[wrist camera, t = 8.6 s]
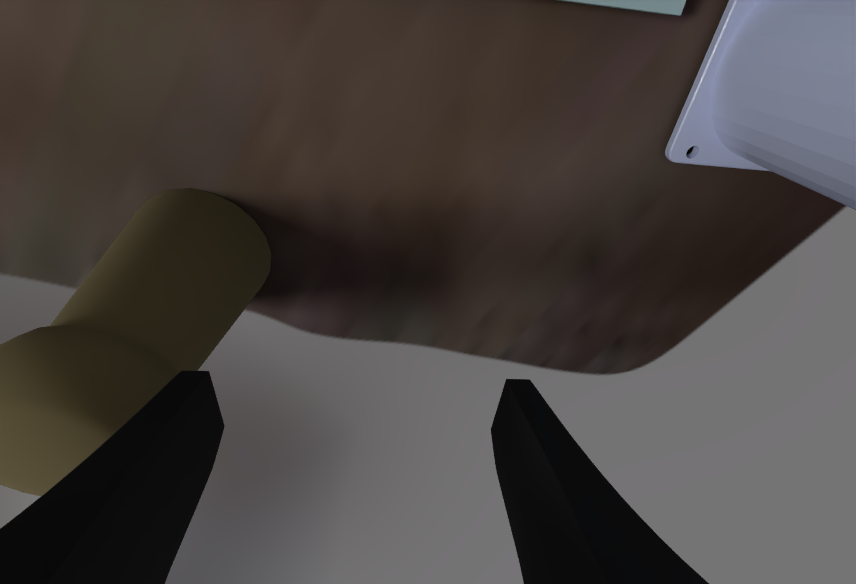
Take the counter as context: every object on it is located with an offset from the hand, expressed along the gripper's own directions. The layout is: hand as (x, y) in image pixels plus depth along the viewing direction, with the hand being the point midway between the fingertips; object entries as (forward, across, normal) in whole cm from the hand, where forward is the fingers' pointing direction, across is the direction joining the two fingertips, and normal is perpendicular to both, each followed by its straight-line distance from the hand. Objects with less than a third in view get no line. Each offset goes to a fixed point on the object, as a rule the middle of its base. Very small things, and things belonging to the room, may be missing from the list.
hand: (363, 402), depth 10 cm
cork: (+11, +8, +2) cm, 14 cm away
